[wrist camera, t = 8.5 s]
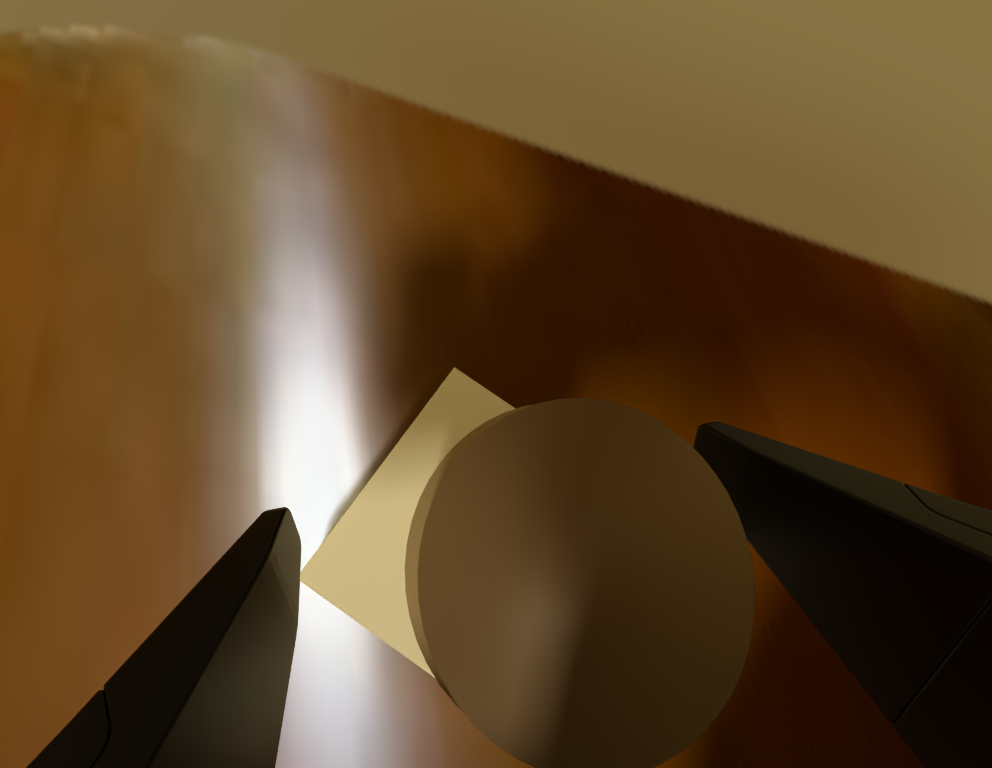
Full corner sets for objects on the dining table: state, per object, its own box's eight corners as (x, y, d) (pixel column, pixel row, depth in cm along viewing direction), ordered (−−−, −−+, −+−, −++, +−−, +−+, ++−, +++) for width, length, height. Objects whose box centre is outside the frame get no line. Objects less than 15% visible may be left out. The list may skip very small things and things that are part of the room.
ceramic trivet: (625, 499, 19) (647, 497, 17) (514, 716, 16) (526, 743, 14) (451, 382, 19) (454, 367, 17) (311, 571, 16) (296, 577, 14)
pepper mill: (564, 485, 16) (773, 432, 6) (539, 626, 15) (764, 841, 5) (440, 454, 16) (457, 346, 6) (401, 594, 14) (342, 754, 5)
